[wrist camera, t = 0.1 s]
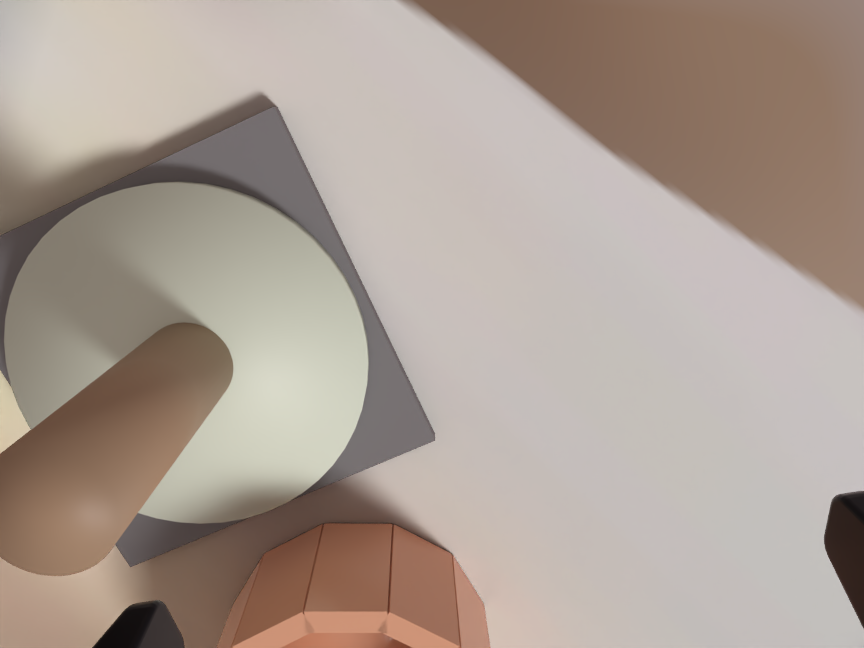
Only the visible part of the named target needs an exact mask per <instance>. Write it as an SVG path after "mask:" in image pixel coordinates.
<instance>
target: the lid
mask: <svg viewBox="0 0 864 648" xmlns="http://www.w3.org/2000/svg"><path fill="white" fill-rule="evenodd" d="M4 347H5V359H6V366H7V371H8V375H9V379H10V384H11V387H12V390H13V393H14V395H15V398H16V401H17V403H18V406H19V408H20V410H21V412H22V414H23V416H24V418H25V420H26V422H27V423H28V425H29V427H30V429H31V430H30V431H29V432H28V433H26V434H25V435H24V436H23V437H21V438H20V439H19V440H17V441H16V442H15V443H14V444H12V445H11V446H10V447H9V448H7V449H6V450H5V451H3V452H2V453H1V454H0V557H1V558H2V559H4V560H6V561H7V562H9V563H10V564H12V565H14V566H16V567H18V568H20V569H23V570H25V571H28V572H32V573H35V574H40V575H47V576H65V575H71V574H75V573H79V572H82V571H84V570H87V569H89V568H91V567H93V566H94V565H96V564H98V563H99V562H100V561H101V560H102V559H104V558H105V557H106V555H107V554H108V553H109V552H110V551H111V549H112V548H113V547H114V545H115V544H116V542H117V541H118V540H119V538H120V537H121V535H122V534H123V533H124V531H125V530H126V529H127V527H128V526H129V524H130V523H131V522H132V520H133V519H134V517H135V516H136V515H137V513H140V514H143V515H147V516H150V517H153V518H157V519H163V520H168V521H174V522H182V523H198V524H204V523H223V522H229V521H235V520H240V519H245V518H249V517H252V516H255V515H259V514H262V513H265V512H267V511H270V510H272V509H274V508H277V507H279V506H281V505H283V504H285V503H287V502H289V501H290V500H292V499H294V498H295V497H297V496H299V495H300V494H302V493H303V492H304V491H306V490H307V489H308V488H309V487H311V486H312V485H313V484H314V483H316V482H317V481H318V480H319V479H320V478H321V477H322V476H323V475H324V474H325V473H326V472H327V471H328V470H329V469H330V468H331V467H332V466H333V464H334V463H335V462H336V460H337V459H338V457H339V456H340V455H341V453H342V452H343V451H344V449H345V448H346V446H347V444H348V442H349V440H350V438H351V436H352V434H353V432H354V430H355V428H356V425H357V422H358V420H359V417H360V414H361V411H362V407H363V402H364V398H365V393H366V388H367V382H368V370H369V351H368V338H367V334H366V329H365V324H364V320H363V316H362V313H361V310H360V307H359V305H358V302H357V299H356V296H355V294H354V292H353V290H352V288H351V286H350V284H349V282H348V280H347V279H346V277H345V275H344V273H343V272H342V270H341V269H340V268H339V266H338V265H337V263H336V262H335V260H334V259H333V257H332V256H331V255H330V254H329V253H328V251H327V250H326V249H325V248H324V247H323V246H322V245H321V244H320V243H319V241H318V240H317V239H316V238H315V237H314V236H313V235H311V234H310V233H309V232H308V231H307V230H306V229H304V228H303V227H302V226H301V225H300V224H299V223H298V222H296V221H295V220H293V219H292V218H290V217H289V216H287V215H286V214H284V213H283V212H281V211H280V210H278V209H277V208H275V207H273V206H271V205H269V204H267V203H265V202H263V201H261V200H259V199H257V198H255V197H252V196H250V195H247V194H244V193H241V192H238V191H235V190H233V189H229V188H225V187H220V186H215V185H211V184H206V183H194V182H182V181H181V182H160V183H153V184H147V185H142V186H136V187H131V188H126V189H122V190H119V191H116V192H113V193H110V194H107V195H104V196H101V197H99V198H97V199H95V200H93V201H91V202H89V203H87V204H85V205H83V206H81V207H79V208H77V209H76V210H75V211H73V212H72V213H70V214H69V215H68V216H66V217H65V218H63V219H62V220H60V221H59V222H58V223H57V224H56V225H55V226H54V227H53V228H52V229H51V230H50V231H49V232H48V233H46V234H45V235H44V236H43V237H42V239H41V240H40V241H39V243H38V244H37V245H36V246H35V248H34V249H33V250H32V252H31V253H30V254H29V255H28V257H27V259H26V261H25V263H24V265H23V266H22V268H21V270H20V272H19V274H18V275H17V278H16V281H15V284H14V286H13V289H12V292H11V295H10V298H9V303H8V308H7V312H6V317H5V332H4Z"/></svg>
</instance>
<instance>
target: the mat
mask: <svg viewBox="0 0 864 648" xmlns="http://www.w3.org/2000/svg"><path fill="white" fill-rule="evenodd" d="M181 181H182V182H194V183H206V184H211V185H215V186H220V187H225V188H229V189H233V190H235V191H238V192H241V193H244V194H247V195H250V196H252V197H255V198H257V199H259V200H261V201H263V202H265V203H267V204H269V205H271V206H273V207H275V208H277V209H278V210H280V211H281V212H283V213H284V214H286V215H287V216H289V217H290V218H292V219H293V220H295V221H296V222H298V223H299V224H300V225H301V226H302V227H303V228H304V229H306V230H307V231H308V232H309V233H310V234H311V235H313V236H314V237H315V238H316V239H317V240H318V241H319V243H320V244H321V245H322V246H323V247H324V248H325V249H326V250H327V251H328V253H329V254H330V255H331V256H332V257H333V259H334V260H335V262H336V263H337V265H338V266H339V268H340V269H341V270H342V272H343V273H344V275H345V277H346V279H347V280H348V282H349V284H350V286H351V288H352V290H353V292H354V294H355V296H356V299H357V302H358V305H359V307H360V310H361V313H362V316H363V320H364V324H365V329H366V334H367V338H368V351H369V370H368V382H367V388H366V393H365V398H364V402H363V407H362V411H361V414H360V417H359V420H358V422H357V425H356V428H355V430H354V432H353V434H352V436H351V438H350V440H349V442H348V444H347V446H346V448H345V449H344V451H343V452H342V453H341V455H340V456H339V457H338V459H337V460H336V462H335V463H334V464H333V466H332V467H331V468H330V469H329V470H328V471H327V472H326V473H325V474H324V475H323V476H322V477H321V478H320V479H319V480H318V481H317V482H316V483H314V484H313V485H312V486H311V487H309V488H308V489H307V490H306V491H304V492H303V493H302V494H300V495H299V496H297V497H295V498H298V497H300V496H303V495H305V494H307V493H310V492H312V491H315V490H317V489H319V488H322V487H324V486H327V485H329V484H331V483H334V482H336V481H339V480H341V479H344V478H346V477H348V476H351V475H353V474H356V473H358V472H360V471H363V470H365V469H368V468H370V467H372V466H375V465H377V464H380V463H382V462H384V461H387V460H389V459H392V458H394V457H396V456H399V455H401V454H404V453H406V452H408V451H411V450H413V449H416V448H418V447H421V446H423V445H425V444H428V443H430V442H433V441H435V433H434V431H433V429H432V427H431V425H430V423H429V420H428V418H427V416H426V414H425V412H424V410H423V408H422V406H421V404H420V402H419V400H418V398H417V396H416V394H415V391H414V389H413V387H412V385H411V383H410V381H409V379H408V377H407V375H406V373H405V371H404V369H403V367H402V364H401V362H400V360H399V358H398V356H397V354H396V352H395V350H394V348H393V346H392V344H391V342H390V340H389V338H388V335H387V333H386V331H385V329H384V327H383V325H382V323H381V321H380V319H379V317H378V315H377V313H376V311H375V308H374V306H373V304H372V302H371V300H370V298H369V296H368V294H367V292H366V290H365V288H364V286H363V284H362V281H361V279H360V277H359V275H358V273H357V271H356V269H355V267H354V265H353V263H352V261H351V259H350V257H349V255H348V252H347V250H346V248H345V246H344V244H343V242H342V240H341V238H340V236H339V234H338V232H337V230H336V228H335V225H334V223H333V221H332V219H331V217H330V215H329V213H328V211H327V209H326V207H325V205H324V203H323V201H322V199H321V196H320V194H319V192H318V190H317V188H316V186H315V184H314V182H313V180H312V178H311V176H310V174H309V172H308V169H307V167H306V165H305V163H304V161H303V159H302V157H301V155H300V153H299V151H298V149H297V147H296V145H295V143H294V140H293V138H292V136H291V134H290V132H289V130H288V128H287V126H286V124H285V122H284V120H283V118H282V116H281V113H280V111H279V109H278V107H271V108H269V109H267V110H265V111H263V112H261V113H259V114H257V115H255V116H252V117H250V118H248V119H246V120H244V121H242V122H240V123H238V124H235V125H233V126H231V127H229V128H227V129H225V130H223V131H221V132H219V133H216V134H214V135H212V136H210V137H208V138H206V139H204V140H202V141H200V142H197V143H195V144H193V145H191V146H189V147H187V148H185V149H183V150H181V151H178V152H176V153H174V154H172V155H170V156H168V157H166V158H164V159H162V160H159V161H157V162H155V163H153V164H151V165H149V166H147V167H145V168H142V169H140V170H138V171H136V172H134V173H132V174H130V175H128V176H126V177H123V178H121V179H119V180H117V181H115V182H113V183H111V184H109V185H107V186H104V187H102V188H100V189H98V190H96V191H94V192H92V193H90V194H88V195H85V196H83V197H81V198H79V199H77V200H75V201H73V202H71V203H68V204H66V205H64V206H62V207H60V208H58V209H56V210H54V211H52V212H49V213H47V214H45V215H43V216H41V217H39V218H37V219H35V220H33V221H30V222H28V223H26V224H24V225H22V226H20V227H18V228H16V229H14V230H11V231H9V232H7V233H5V234H3V235H1V236H0V370H1V372H2V373H3V375H4V376H5V378H6V379H7V381H8V382H9V384H10V379H9V375H8V371H7V366H6V359H5V347H4V332H5V317H6V312H7V308H8V303H9V298H10V295H11V292H12V289H13V286H14V284H15V281H16V278H17V275H18V274H19V272H20V270H21V268H22V266H23V265H24V263H25V261H26V259H27V257H28V255H29V254H30V253H31V252H32V250H33V249H34V248H35V246H36V245H37V244H38V243H39V241H40V240H41V239H42V237H43V236H44V235H45V234H46V233H48V232H49V231H50V230H51V229H52V228H53V227H54V226H55V225H56V224H57V223H58V222H59V221H60V220H62V219H63V218H65V217H66V216H68V215H69V214H70V213H72V212H73V211H75V210H76V209H77V208H79V207H81V206H83V205H85V204H87V203H89V202H91V201H93V200H95V199H97V198H99V197H101V196H104V195H107V194H110V193H113V192H116V191H119V190H122V189H126V188H131V187H136V186H142V185H147V184H153V183H160V182H181ZM10 386H11V384H10ZM295 498H294V499H295ZM292 500H293V499H292ZM290 501H291V500H290ZM249 518H250V517H249ZM245 519H247V518H245ZM245 519H240V520H235V521H229V522H223V523H204V524H198V523H182V522H174V521H168V520H163V519H157V518H153V517H150V516H147V515H143V514H140V513H137V515H136V516H135V517H134V519H133V520H132V522H131V523H130V524H129V526H128V527H127V529H126V530H125V531H124V533H123V534H122V535H121V537H120V538H119V540H118V541H117V542H116V544H115V545H116V546H117V548H118V549H119V551H120V552H121V554H122V555H123V557H124V558H125V560H126V561H127V563H128V564H129V566H130V567H132V566H134V565H137V564H139V563H141V562H144V561H146V560H149V559H151V558H153V557H156V556H158V555H161V554H163V553H165V552H168V551H170V550H173V549H175V548H178V547H180V546H182V545H185V544H187V543H190V542H192V541H194V540H197V539H199V538H202V537H204V536H206V535H209V534H211V533H214V532H216V531H218V530H221V529H223V528H226V527H228V526H230V525H233V524H235V523H238V522H240V521H242V520H245Z"/></svg>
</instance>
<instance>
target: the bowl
mask: <svg viewBox="0 0 864 648" xmlns="http://www.w3.org/2000/svg"><path fill="white" fill-rule="evenodd" d="M217 648H490V642H489V635H488V628H487V622H486V615H485V608H484V604H483V602H482V600H481V599H480V597H479V596H478V594H477V592H476V591H475V589H474V588H473V586H472V584H471V583H470V581H469V580H468V578H467V577H466V575H465V573H464V572H463V570H462V569H461V567H460V565H459V564H458V562H457V561H456V559H455V557H454V556H453V555H452V554H451V553H449V552H447V551H445V550H443V549H441V548H440V547H438V546H436V545H434V544H432V543H430V542H428V541H426V540H424V539H422V538H420V537H418V536H416V535H414V534H412V533H410V532H408V531H406V530H405V529H403V528H401V527H399V526H397V525H395V524H394V525H393V527H392V524H350V523H324V525H323V524H321V525H319V526H317V527H315V528H313V529H311V530H309V531H307V532H305V533H304V534H302V535H300V536H298V537H296V538H294V539H292V540H290V541H288V542H286V543H284V544H282V545H280V546H278V547H276V548H274V549H272V550H270V551H268V552H266V553H265V554H264V555H263V556H262V558H261V559H260V561H259V563H258V564H257V566H256V568H255V569H254V571H253V572H252V574H251V576H250V577H249V579H248V581H247V582H246V584H245V585H244V587H243V589H242V590H241V592H240V594H239V595H238V597H237V598H236V600H235V602H234V603H233V606H232V608H231V611H230V613H229V616H228V619H227V621H226V624H225V627H224V629H223V632H222V634H221V637H220V640H219V642H218V645H217Z"/></svg>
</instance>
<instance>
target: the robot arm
mask: <svg viewBox="0 0 864 648" xmlns="http://www.w3.org/2000/svg"><path fill="white" fill-rule="evenodd" d="M824 544H825V549H826V552H827V555H828V557H829V559H830V561H831V563H832V565H833V567H834V569H835V571H836V573H837V575H838V577H839V580H840V582H841V584H842V586H843V588H844V590H845V592H846V594H847V596H848V598H849V600H850V602H851V604H852V606H853V608H854V610H855V612H856V614H857V616H858V618H859V620H860V622H861V624H862V626H863V628H864V491H857V492H851V493H844V494H839V495H836V496H835V497H834V498H833V499H832V502H831V506H830V511H829V515H828V520H827V525H826V530H825V535H824ZM92 648H184V641H183V637H182V635H181V633H180V631H179V629H178V627H177V625H176V624H175V622H174V620H173V618H172V616H171V614H170V612H169V611H168V609H167V607H166V605H165V604H164V603H163V602H161V601H159V600H155V601H148V602H142V603H136V604H133V605H131V606H129V607H128V608H127V609H125V610H124V611H123V613H122V614H121V615H120V616H119V617H118V618H117V620H116V621H115V622H114V623H113V624H112V625H111V627H110V628H109V629H108V630H107V631H106V632H105V634H104V635H103V636H102V637H101V638H100V639H99V640H98V642H97V643H96V644H95V645H94V646H93V647H92Z"/></svg>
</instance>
